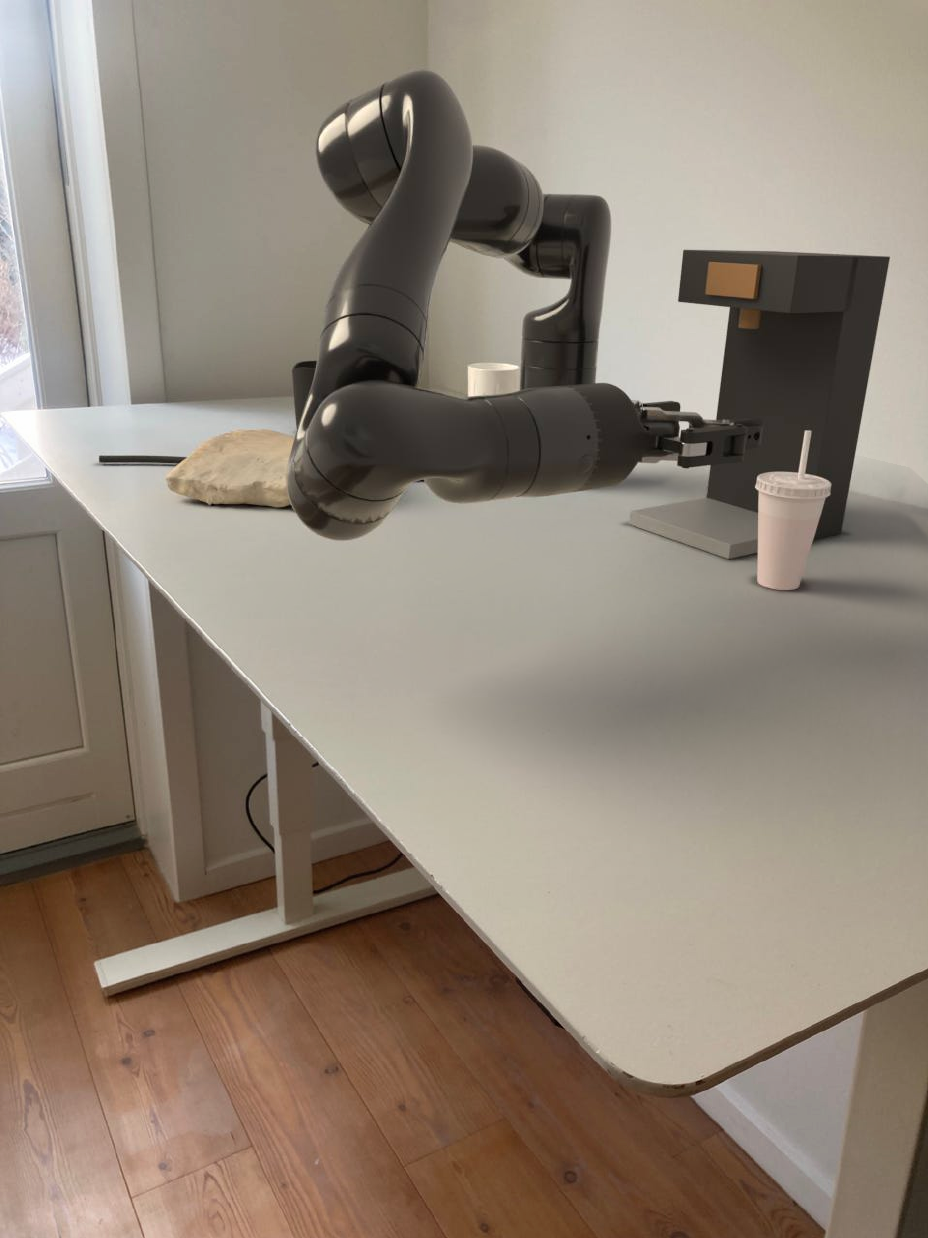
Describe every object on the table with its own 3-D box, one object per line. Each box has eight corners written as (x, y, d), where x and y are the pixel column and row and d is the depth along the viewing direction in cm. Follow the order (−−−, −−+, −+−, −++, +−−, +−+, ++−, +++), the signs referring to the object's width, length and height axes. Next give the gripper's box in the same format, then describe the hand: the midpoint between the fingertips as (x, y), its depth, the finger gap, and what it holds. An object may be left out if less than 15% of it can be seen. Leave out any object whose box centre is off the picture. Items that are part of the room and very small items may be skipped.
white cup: (500, 439, 148) (503, 371, 144) (455, 433, 152) (457, 366, 148) (525, 431, 154) (529, 366, 151) (482, 425, 158) (484, 361, 154)
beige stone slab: (389, 474, 129) (245, 448, 132) (394, 417, 126) (246, 392, 129) (327, 531, 107) (156, 500, 110) (331, 465, 104) (155, 434, 107)
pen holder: (369, 431, 151) (369, 364, 147) (329, 441, 143) (328, 370, 140) (321, 424, 155) (320, 358, 152) (281, 433, 148) (278, 364, 144)
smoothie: (819, 598, 87) (845, 440, 82) (744, 591, 88) (766, 434, 83) (810, 575, 93) (835, 426, 88) (740, 569, 94) (760, 421, 89)
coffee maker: (728, 559, 97) (769, 254, 87) (628, 524, 107) (654, 248, 97) (841, 533, 107) (890, 256, 96) (739, 503, 117) (773, 251, 107)
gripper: (635, 401, 63) (796, 387, 72) (501, 373, 74) (656, 363, 83) (624, 515, 66) (781, 488, 75) (496, 472, 77) (647, 452, 86)
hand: (715, 422), depth 79 cm, fingers open, 8 cm apart
